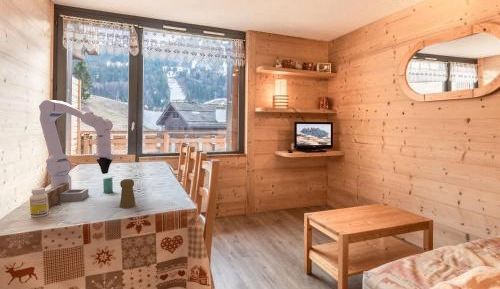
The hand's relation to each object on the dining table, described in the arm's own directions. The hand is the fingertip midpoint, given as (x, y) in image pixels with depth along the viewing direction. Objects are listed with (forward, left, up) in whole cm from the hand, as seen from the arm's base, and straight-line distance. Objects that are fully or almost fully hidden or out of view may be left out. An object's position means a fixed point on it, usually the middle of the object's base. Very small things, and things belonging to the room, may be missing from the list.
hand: (104, 173), depth 138 cm
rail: (+11, -17, -10) cm, 22 cm away
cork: (+24, +14, -10) cm, 30 cm away
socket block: (+6, -11, -10) cm, 16 cm away
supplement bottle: (+30, -15, -10) cm, 35 cm away
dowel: (-3, 0, -10) cm, 10 cm away
